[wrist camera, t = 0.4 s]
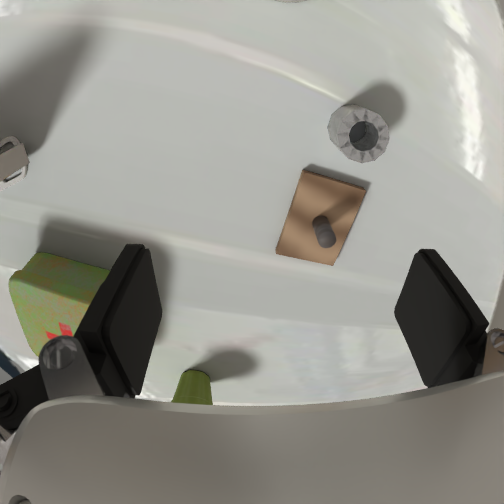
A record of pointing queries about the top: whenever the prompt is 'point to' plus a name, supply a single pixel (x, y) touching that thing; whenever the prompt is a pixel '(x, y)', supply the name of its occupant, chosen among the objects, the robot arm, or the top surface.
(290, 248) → the post block
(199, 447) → the robot arm
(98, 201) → the top surface
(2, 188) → the network device
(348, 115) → the steel ring
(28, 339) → the first aid kit
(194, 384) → the plant pot
